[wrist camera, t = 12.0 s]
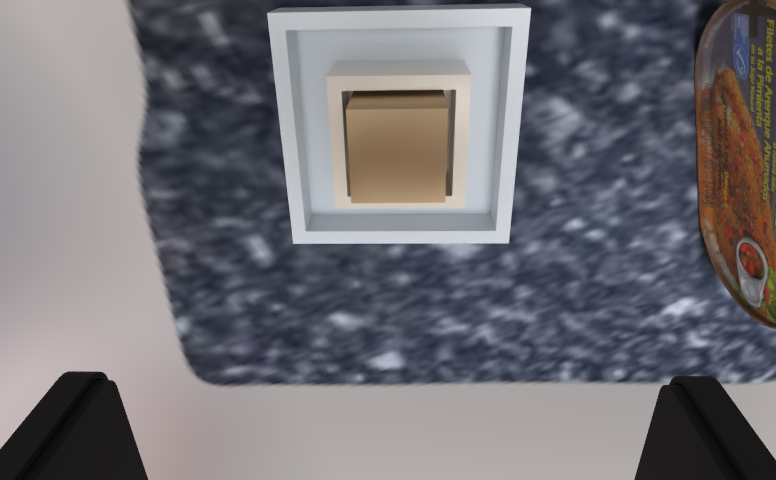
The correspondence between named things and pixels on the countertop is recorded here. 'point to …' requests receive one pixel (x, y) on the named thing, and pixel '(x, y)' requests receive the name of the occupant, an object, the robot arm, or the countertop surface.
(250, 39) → the countertop surface
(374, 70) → the cream square open box
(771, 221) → the tin
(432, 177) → the block
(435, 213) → the tray
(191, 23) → the countertop surface
